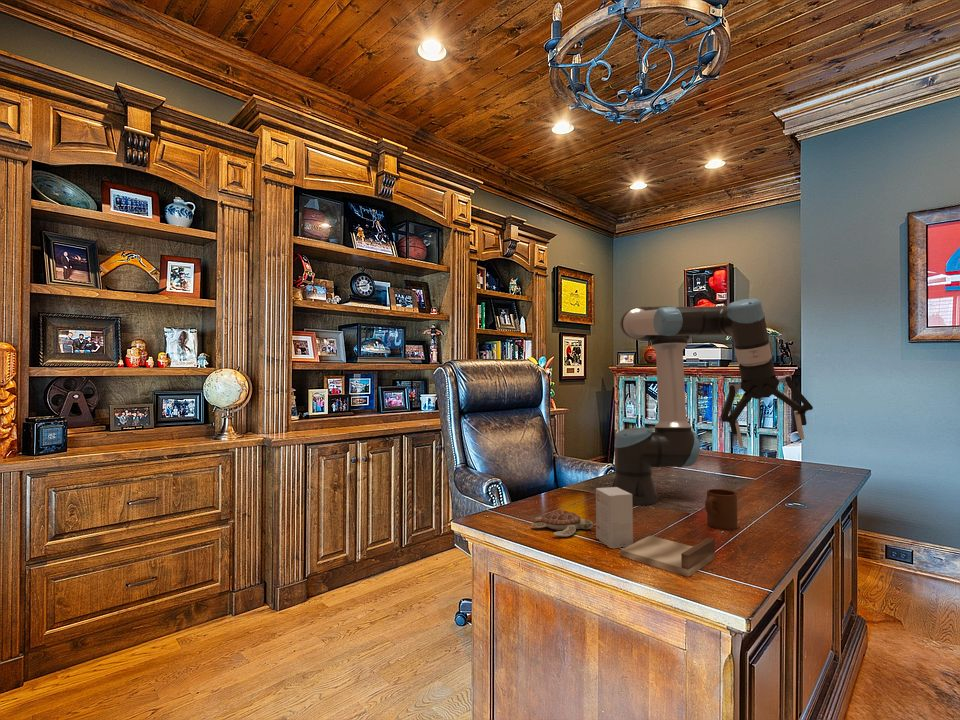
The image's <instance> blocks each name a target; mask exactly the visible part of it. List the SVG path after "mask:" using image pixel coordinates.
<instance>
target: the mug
mask: <svg viewBox="0 0 960 720" xmlns="http://www.w3.org/2000/svg"><path fill="white" fill-rule="evenodd" d="M704 505H705V506H704V508H705V512H706V521H707V522H706V523H707V525H708V526H710V527H711V528H713V529H717V530H722V531H723V530H724V531H731V530H735V529H736V528H737V527H738V497H737V493H736V491H733V490H729V489H724V488H723V489H721V488H711V489H707V491H706V500H705V503H704Z"/></svg>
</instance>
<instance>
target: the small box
mask: <svg viewBox="0 0 960 720" xmlns="http://www.w3.org/2000/svg"><path fill="white" fill-rule="evenodd" d="M633 506H634V505H633V503H632V494H631V493H628V492H626V491H624V490H622V489H620V488H618V487H612V486H611V487H610V486H609V487H596V488H595V516H596V517H595V538H596V539H597V540H598V539H599V541H600V542H601V543H602V542H603V543H602V544H603V545H605V546H606V545H607V548H609V549H610V548H613V549H621V547H623V548H626V547H628V546H630V545H632V544H634V517H633V516H634V512H633V511H634V510H633V509H634V507H633Z"/></svg>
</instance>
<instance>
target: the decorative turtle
mask: <svg viewBox="0 0 960 720" xmlns="http://www.w3.org/2000/svg"><path fill="white" fill-rule="evenodd" d="M534 519H535V521H540V522H534V523H531V527H532V528H536V529H542V528H546V527H547V528H550V529H551V530H555V529H556V531H555V532H553V533H552V535H553V536H555V537H569V536H572V535H574V534H575V533H576V531H577V530H592V528H594V523H593V521H592V520H590V519H588V518H587V519H586V518H582V517H581V516H580V515H578V514H576V513H574V512H573V511H572V512H571V511H567V510H557V511H553V512H550V513H548V514H546V515H544V516H537V517H535V518H534ZM576 529H577V530H576ZM561 530H563V531H561Z"/></svg>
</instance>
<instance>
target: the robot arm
mask: <svg viewBox="0 0 960 720" xmlns="http://www.w3.org/2000/svg"><path fill="white" fill-rule="evenodd" d="M765 315H766V314H765V312H764V308H763V305H762V302H761V300H760V299H759V298H754V297H753V298H744V299H739V300H736V301H733V302H730V303H729V304H727V305H717V306H675V305H671V306H667V305H666V306H665V305H664V306H639V307H633V308H630V309H628V310H627V311H625V312H624V313H622V317H621V318H620V321H619V327H620V330H621V332H622V334H623V335H625V336H626V337H628V338H629V339H632V340H636V341H643V342H644V341H645V342H646V341H648V342H649V341H650V347H651V348H652V349H653V350H654V351H655V357H656V359H655V362H656V381H657V383H656V384H657V403H658V404H657V405H658V422H657V423H656V424H655V426H654V431H652V429H651V428H649V427H630V428H624V429H621V430H619V431H617V432H616V433H615V436H614V438H615V439H614V445H613V446H614V462H615V463H614V468H615V470H614V471H615V475H614V478H613V481H612V484H611V487H618V488H620V489H622V490H624V491H626V492H628V493H631V494H632V503H633V506H647V505H654V504H656V503H657V502H658V500H659V499H658V492H657V488H656V486H655V483H654V479H653V477H652V475H653V472H652V471H653V470H652V469H653V468H685V467H691V466H693V465H694V464H695V463H697V461H698V459H699V455H700V451H701V440H700V439H699V435H698V433H696V432H695V431H693V430H692V429H693V428H692V425H691V424H689V422H688V421H687V409H686V407H687V405H686V389H685V388H686V386H685V370H684V369H685V368H684V367H685V366H684V349H685V348H686V347H687V346H688V341H690V340H691V339H692V338H693V336H727V337H731V338H732V340H733V345H734V351H735V355H736V360H737V363H738V364H739V365H738V370H739V375H740V379H741V381H740V383H737V384H736V383H735V384H734V383H733V382H732V383H731V382H730V383H728V394H727V396H726V400H725V402H724V405H723V408H722V411H721V413H720V418H721V419H720V420H721V422H724V423H725V422H727V423H729V426H730V430H731V431H730V432H731V434H732V435H736V437H737V442H738V444H739V447H740V448H741V447H743V448H744V443H743V439H742V434H741V429H740V424H739V420H738V418H739V416H740V415H741V414H742V412H743V411H744V410H745V408H746V406H748V404H749V403H750V402H751V400H752V399H755V400H760V399H762V398H767V399H768V398H770V397H771V396H774V397H776V398H778V399H779V400H781V401H782V402H783V403H785V404H786V405H788V406H789V407H790V408H792V409H793V410H794V411H793V415H794V419H795V425H796V430H797V435H798V437H799V438H800V440H801V441H802V440H805V434H804V429H803V426H806V425H807V422H808V421H807V418H806V413H807V412H808V411H812V410H813V408H814V407H813V405H812V404H811V403H810V402H809V400H808V399H807V398H806V397H805V396H804V394H802V393H801V391H800V390H799V389H798V388H797V387H796V386H795V384H794V382H793V379H792V377H791V376H790V375H789V374H787V373H786V374H784V375H782V376H779V377H777V375H776V372H775V371H776V370H775V365H774V360H773V359H772V358H773V356H772V352H771V346H770V342H769V334H768V333H769V332H768V328H767V322H766V317H765ZM780 383H781V384H782V385H784V386H787V387H788V388H789V389H790V391H791V392H792V393H793V394H794V396H796V397H797V399H798V400H799V401H800V402H801V403H802V405H800V404H799V403H797V402H796V401H794V400H793V399H791V398H790V397H788V396H787V395H786V394H784V393H783V392H781V391H780V390H779V389H777V388H778V386H779V384H780ZM739 390H742V391H743V392H744V393H743V395H742V397H741V398H740V400H739V402H738V403H737V404H736V406H734V409H733V410H732V406H733V404H734V400H735V397H736V394H737V393H738V392H739ZM731 410H732V411H731ZM730 411H731V412H730Z"/></svg>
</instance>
